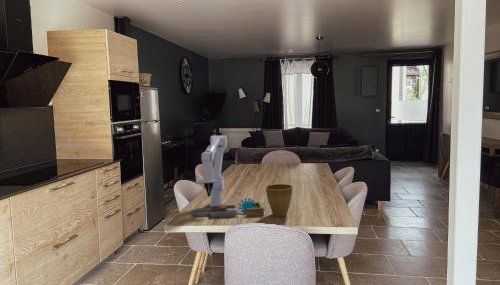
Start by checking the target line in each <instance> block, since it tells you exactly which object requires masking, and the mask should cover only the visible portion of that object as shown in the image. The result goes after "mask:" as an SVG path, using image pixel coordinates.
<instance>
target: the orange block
mask: <svg viewBox="0 0 500 285" xmlns="http://www.w3.org/2000/svg"><path fill="white" fill-rule="evenodd" d="M227 205H228V204H227V203H226V202H225V203H223V204H220V211H236V215H238V214H240V209H239V207H238V208H236V207H235V208H233V209H227Z"/></svg>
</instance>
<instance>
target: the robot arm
mask: <svg viewBox="0 0 500 285" xmlns="http://www.w3.org/2000/svg"><path fill="white" fill-rule="evenodd" d="M209 140H210V141H209V142H210V144H209V145H208V146H207V147H206V149H205V151H204V152H202V153H201V154H200V155H201V157H200V159H201V163H202V164H201V165H202V170H203V172H202V174H203V175H202V176H203V179H199V180H195V185H203V187H204V189H205V190H206V194H207V197H209V198H210V201H209V202H210V203H209V207H210V208H211V206H219V205H220V204H224V202H223V191H224V189H225V186H226V185H225V178H224V177H223V176H222V166H223V157H224V153H225V151H226V150H227V148H228V137H227V135H226V134H225V135H211V136H210V138H209Z"/></svg>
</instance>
